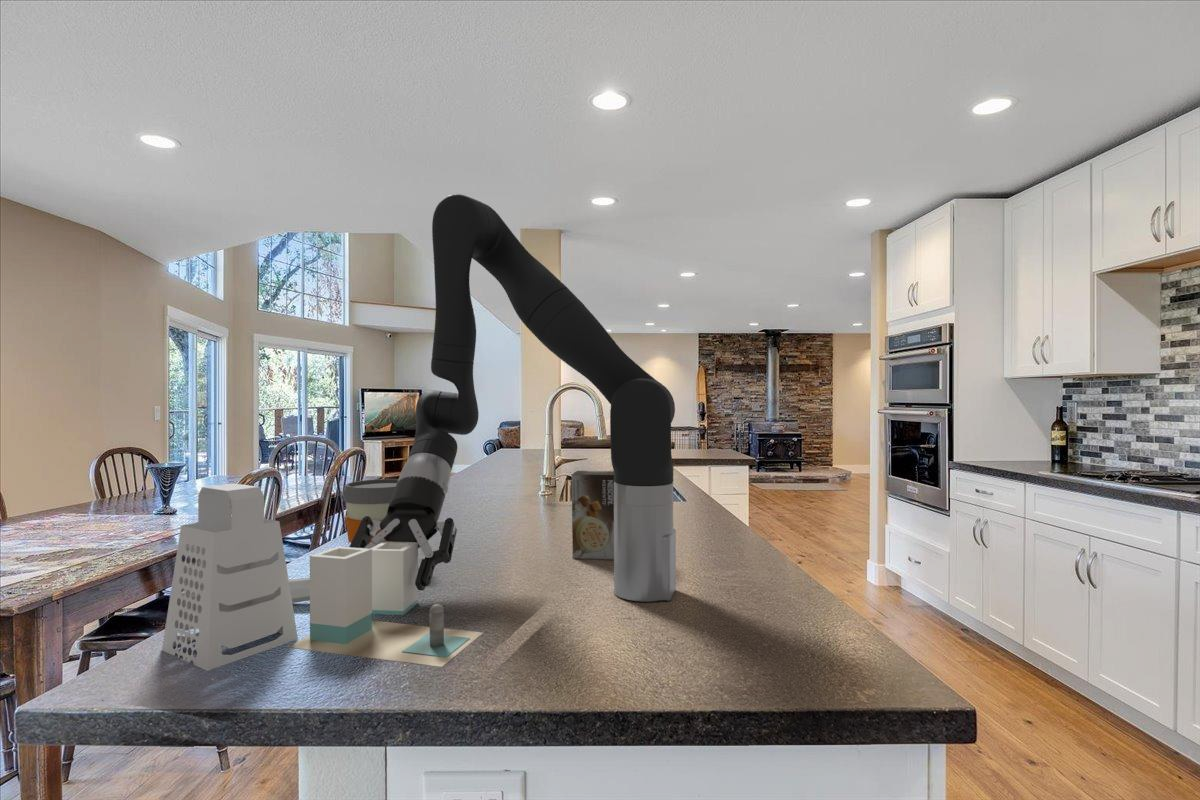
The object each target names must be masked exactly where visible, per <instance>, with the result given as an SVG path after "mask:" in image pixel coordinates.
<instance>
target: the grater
mask: <svg viewBox="0 0 1200 800" xmlns="http://www.w3.org/2000/svg"><path fill="white" fill-rule="evenodd" d="M197 501H198V505H197V510H198V513H197V516H198V517H197V521H198V522H195V523H194V522H193V523H187V524H183V525H180V529H179V530H180V531H179V536H178V543H177V551H176V556H175V564H174V570H173V576H172V583H171V588H170V595H169V602H168V606H167V607H168V609H167V614H166V620H165V628H164V634H163V640H162V646H161V651H163V652H165V653H167V654H169V655H172V656H175V655H176V654H177V658H180V656H182V659H183V661H185V660H186V659H187V660H188V662H187V663H191V661H192V662H193V666H195V667H198V668H201V670H202V669H203V670H204V671H206V672H207V671H210V670H214V669H216V668H219V667H222V666H224V665H228V664H230V663H233V662H237V661H239V660H240V661H241V660H242V659H245V658H247V657H250V656H254V655H256V654H259V653H262V652H266V651H268V650H271V649H274V648H276V647H279V646H282V645H285V644H288V643H290V642H294V641H296V640H298V639H299V638H298V637H299V636H298V632H297V631H298V630H297V625H296V617H295V611H294V605H293V604H294V603H292V598H291V592H290V586H289V574H288V568H287V562H286V557H285V549H284V543H283V542H284V541H283V536H282V531H281V524H280V521H279V520H275V519H270V518H269V519H268V518H265V495H264V493H263V491H262V488H261V486H257V485H247V484H241V483H234V482H233V483H225V484H217V485H216V484H215V485H209V486H202V487H201V488H200V491H199V493H198V496H197ZM183 556H184V557H185V559H184V561H183V559H182V557H183ZM187 559H189V563H188V562H187ZM193 559H195V562H193ZM198 560H200V561H198ZM200 589H203V591H201V590H200ZM181 591H185V595H184V596H182V595H181ZM189 592H190V593H189ZM192 592H195V596H194V597H192ZM198 593H199V594H200V595H198V596H197V594H198ZM197 629H198V632H196V630H197ZM191 630H193V633H191ZM178 633H179V635H178ZM277 633H279V634H281V635H279V636H278V637H277V638H276V639H274V640H271V641H268V642H266V643H262V644H260V645H256V646H254V647H251V648H248V649H247V648H246V649H245V650H242V651H239V652H236V653H232V654H223V653H222V652H223V651H222V647H225V648H228V649H233V648H236V647H240V646H242V645H245V644H248V643H252V642H255V641H257V640H260V639H263V638H266V637H269V636H271V635H275V634H277ZM193 641H195V646H194V645H193ZM188 643H189V644H188ZM180 645H181V646H180ZM178 646H180V648H181V649H180V650H179V649H178ZM174 647H175V648H174ZM184 647H186V651H185V652H184V651H183V650H184ZM189 649H191V654H190V655H189ZM194 651H196V654H197V655H196V657H194Z"/></svg>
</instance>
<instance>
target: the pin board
mask: <svg viewBox="0 0 1200 800" xmlns="http://www.w3.org/2000/svg"><path fill="white" fill-rule="evenodd" d="M429 608H430V609H429V626H428V625H427V626H425V625H415V624H406V623H398V622H389V621H379V620H372V629H371V630H369V631H368V632H366V633H364V634H362V635H361V636H359V637H357V638H356V639H354V640H352V641H350V642H349V643H347V644H340V643H332V642H324V641H316V640H310V635H308V636H305V637H304V638H301V639H300V640H298V641H295V642H294V643H293V644H290V645H289V646H287V648H288V649H289V648H290V649H295V650H296V649H297V650H304V651H310V652H311V651H314V652H320V653H327V654H335V655H343V656H349V657H359V658H368V659H374V660H375V659H376V660H382V661H392V662H398V663H406V664H414V665H421V666H422V665H423V666H430V667H437V668H438V667H439V668H442V667H444V666H446V664H447V663H449V662H450V661H452V659H454V658H455V657H457V655H459V654H460V653H461V652H463V651H464V650H465V649H466V648H467V647H469V645H471V644H472V643H473V642H474V641H475V640H477V639H478V638H479V637H480V636H482V635H483V634H484V632H480V631H473V630H463V629H452V628H445V622H444V621H445V620H444V619H445V609H444V607H443V605H442V604H441V603H440V604H439V603H435V604H433V605H432V606H431V607H429Z"/></svg>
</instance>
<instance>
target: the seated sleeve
mask: <svg viewBox="0 0 1200 800" xmlns="http://www.w3.org/2000/svg"><path fill="white" fill-rule="evenodd" d="M309 578H310V600H309V636H310V640H316V641H324V642H332V643H340V644H347V643H349V642H350V641H352V640H354V639H356V638H357V637H359V636H361V635H362V634H364V633H366V632H368V631H369V630H371V629H372V621H373V614H372V549H366V548H352V547H350V546H335V547H332V548H329V549H327V550H323V551H320V552H317V553H315V554H312V555H309Z"/></svg>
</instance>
